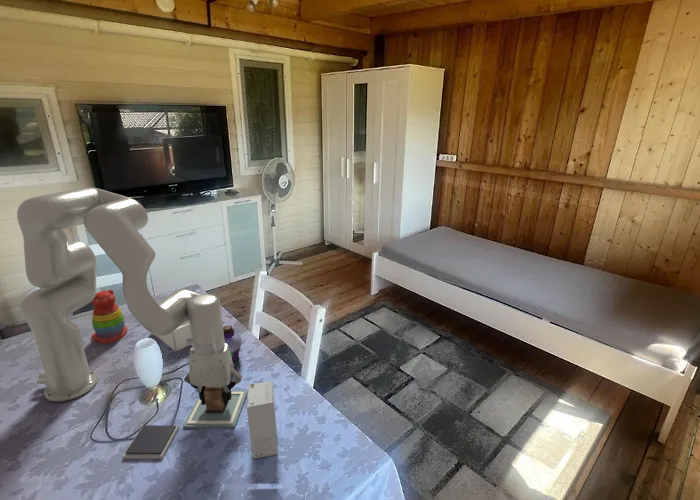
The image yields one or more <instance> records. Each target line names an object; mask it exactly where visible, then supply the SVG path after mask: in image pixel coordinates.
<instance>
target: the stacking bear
mask: <svg viewBox="0 0 700 500" xmlns="http://www.w3.org/2000/svg"><path fill="white" fill-rule="evenodd" d="M114 293H115V292H114V290H112V289H108V290H101V291H99V292H98V291H97V292H96V294H95V297H94V299H93V300H92V301H91V303H92V306H93V307H94V309H93V311H92V312H93V313H92V315H91V316H92V317H91V325H92V327H93V330H94V332H93V333H92V335H91V340H92V339H93V340H94V341H93V342H95V343H97V342H98V344H111V343H115V342H117V341H119V340H121V339H123V338H124V337H126V335H127V333H128V327H127V325H126V324H125V317H124V314H123V312H122V309H121V308H120V307H119V306H118V305H117V304H116V296H115V294H114Z"/></svg>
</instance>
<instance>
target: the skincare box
mask: <svg viewBox="0 0 700 500" xmlns="http://www.w3.org/2000/svg"><path fill="white" fill-rule="evenodd" d="M247 386H248V387H247V388H248V390H247V392H248V393H247V396H246V398H247V405H246V411H247V419H248V421H247V422H248V428H249V429H248V430H249V436H250V437H249V438H250V443H251V453H252V459H258V458H265V457H272V456H277V455H278V443H277V420H276V410H275V409H276V408H275V400H274V399H275V398H274V391H273V390H274V389H273V381H272V380H271V381H270V380H269V381H264V382H257V383H252V384H248V385H247Z"/></svg>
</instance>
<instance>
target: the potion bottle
mask: <svg viewBox="0 0 700 500" xmlns="http://www.w3.org/2000/svg"><path fill="white" fill-rule="evenodd" d="M223 331H224V340H225V343H226V344H227V345H228V347H229V350H230V353H231V357H232V362H233V363H235V362H236V361H237V360H238V359H239V354H240V350H241V347H242V346H241V345H242V337H241V336H240V335H237V334H235V329H234V328H233V326H232V325H225V326H224V325H223ZM237 358H238V359H237ZM236 359H237V360H236ZM235 360H236V361H235Z"/></svg>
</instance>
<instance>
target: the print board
mask: <svg viewBox="0 0 700 500" xmlns="http://www.w3.org/2000/svg"><path fill="white" fill-rule="evenodd" d="M231 394H232V397H231V400H229V402H228V404H227V405H226V408H225V410H224V412H223V413H206V404H204V405H202V403H201V400H200V398H199V396H198V397H197V399H196V401H195V402H194V405H193V407H192V409H191V410H190V412H189V414H188V416H187V418H186V420H185V421H184V424H183V425H182V428H183V429H236V426H237V423H238V420H239V418H240V415H241V413H242V409H243V406H244V404H245V402H246V398H247V395H248V390H231Z"/></svg>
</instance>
